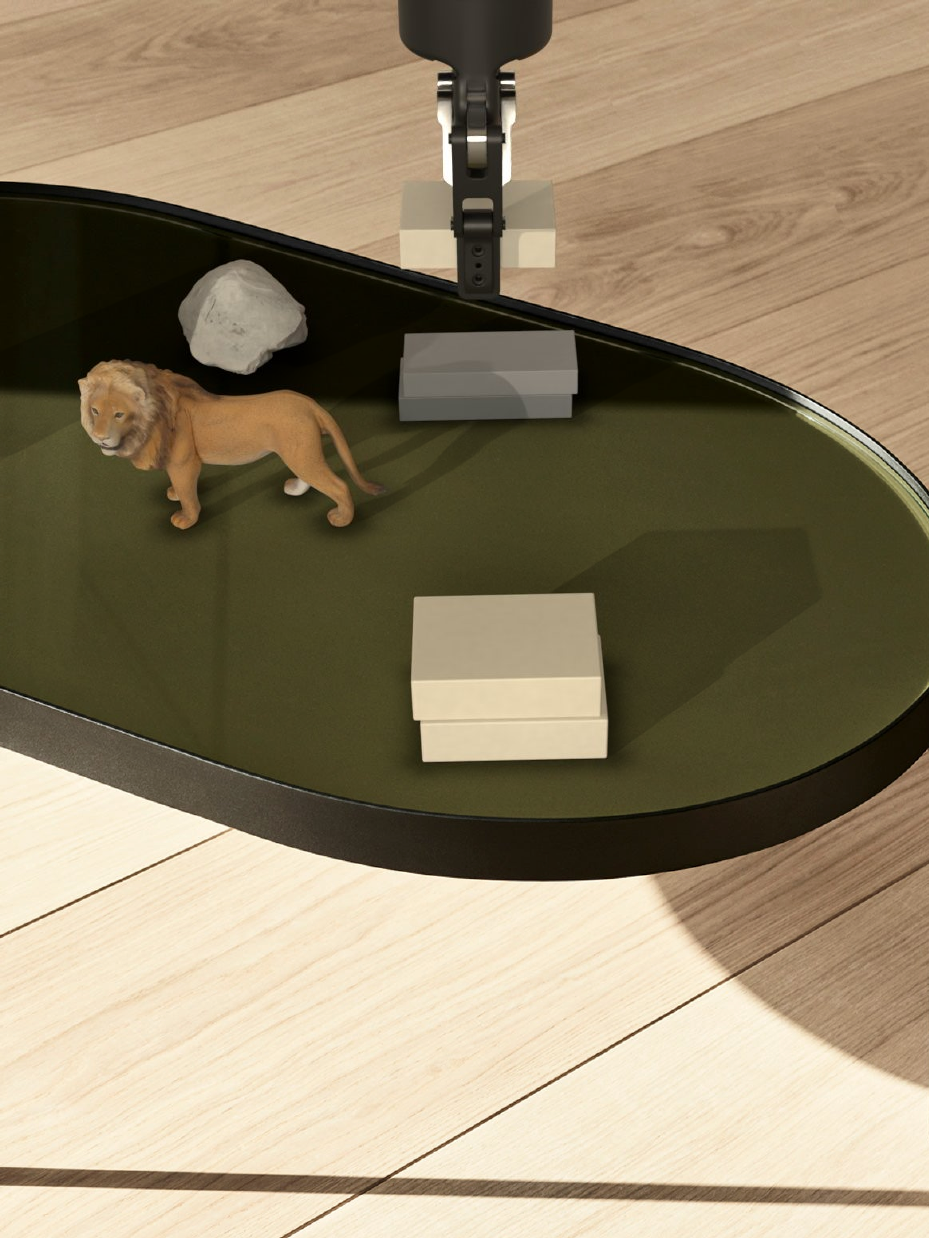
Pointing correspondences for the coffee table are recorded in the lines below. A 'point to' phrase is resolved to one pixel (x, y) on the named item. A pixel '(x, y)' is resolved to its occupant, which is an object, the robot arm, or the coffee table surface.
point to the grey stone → (240, 317)
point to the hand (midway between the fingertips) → (478, 266)
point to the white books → (508, 677)
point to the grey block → (488, 375)
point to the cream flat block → (432, 208)
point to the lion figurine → (212, 433)
